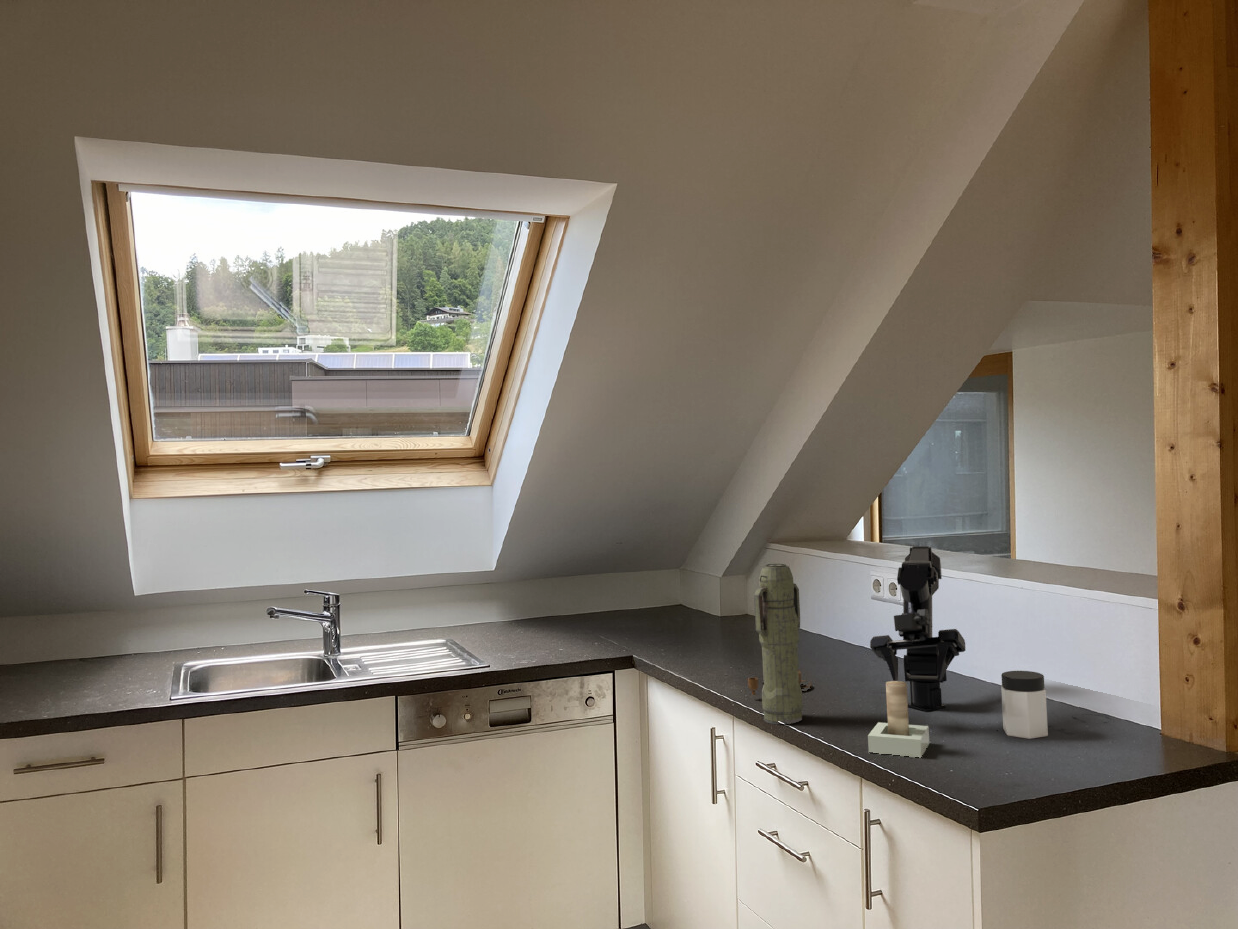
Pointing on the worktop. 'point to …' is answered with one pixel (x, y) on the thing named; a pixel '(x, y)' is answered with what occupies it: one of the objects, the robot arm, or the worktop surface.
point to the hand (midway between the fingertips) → (917, 681)
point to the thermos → (779, 642)
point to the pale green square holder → (899, 741)
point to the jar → (1024, 704)
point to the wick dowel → (897, 708)
